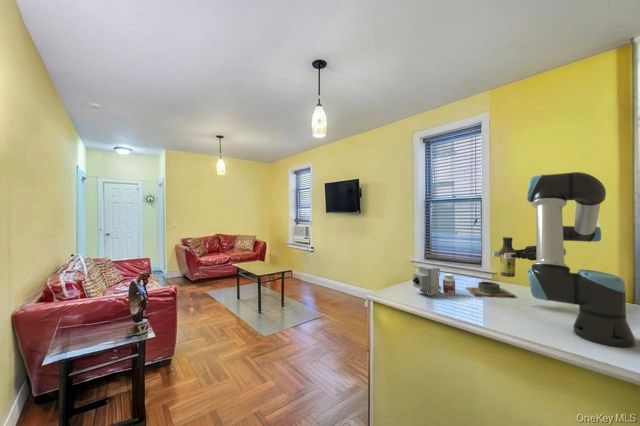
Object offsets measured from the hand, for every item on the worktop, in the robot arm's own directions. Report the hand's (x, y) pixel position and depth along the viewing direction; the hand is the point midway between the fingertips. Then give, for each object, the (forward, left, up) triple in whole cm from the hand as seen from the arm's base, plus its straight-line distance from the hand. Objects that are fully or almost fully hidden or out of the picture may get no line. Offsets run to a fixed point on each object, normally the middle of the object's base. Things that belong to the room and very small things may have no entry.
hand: (498, 255), depth 135 cm
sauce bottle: (+5, -2, -11) cm, 12 cm away
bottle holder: (+13, +12, -24) cm, 30 cm away
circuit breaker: (-16, +32, -24) cm, 43 cm away
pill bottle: (-6, +24, -24) cm, 34 cm away
